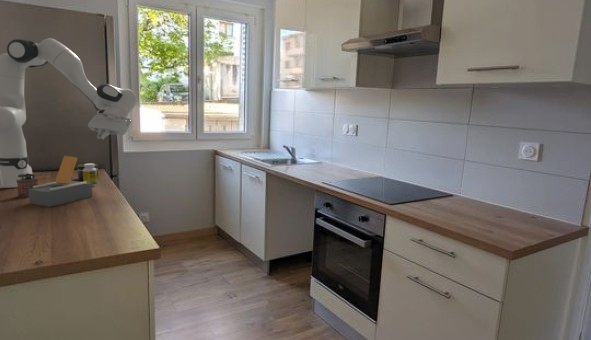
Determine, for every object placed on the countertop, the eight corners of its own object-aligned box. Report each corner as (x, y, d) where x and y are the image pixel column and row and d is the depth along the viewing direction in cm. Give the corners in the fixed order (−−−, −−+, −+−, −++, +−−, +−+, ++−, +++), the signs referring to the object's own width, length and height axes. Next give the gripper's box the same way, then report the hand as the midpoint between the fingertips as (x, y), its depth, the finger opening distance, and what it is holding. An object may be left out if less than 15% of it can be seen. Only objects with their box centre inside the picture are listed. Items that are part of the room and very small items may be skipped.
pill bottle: (91, 187, 191) (90, 165, 189) (80, 186, 193) (79, 164, 191) (100, 184, 197) (98, 163, 195) (89, 183, 199) (88, 162, 197)
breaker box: (29, 203, 159) (27, 186, 158) (73, 193, 177) (72, 178, 176) (49, 206, 155) (47, 189, 153) (92, 196, 173) (91, 180, 172)
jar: (102, 178, 214) (101, 164, 213) (86, 181, 205) (85, 167, 204) (90, 176, 218) (89, 163, 217) (74, 179, 210) (72, 165, 208)
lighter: (38, 193, 176) (36, 171, 175) (40, 194, 174) (38, 173, 172) (17, 196, 171) (15, 173, 169) (18, 197, 169) (16, 175, 167)
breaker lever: (54, 182, 165) (64, 155, 168) (58, 183, 167) (68, 157, 170) (64, 183, 163) (73, 156, 166) (68, 184, 165) (77, 158, 168)
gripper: (136, 123, 188) (121, 145, 180) (102, 118, 193) (86, 139, 186) (129, 114, 183) (114, 136, 175) (95, 110, 188) (79, 131, 181)
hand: (99, 138), depth 181 cm, fingers closed
